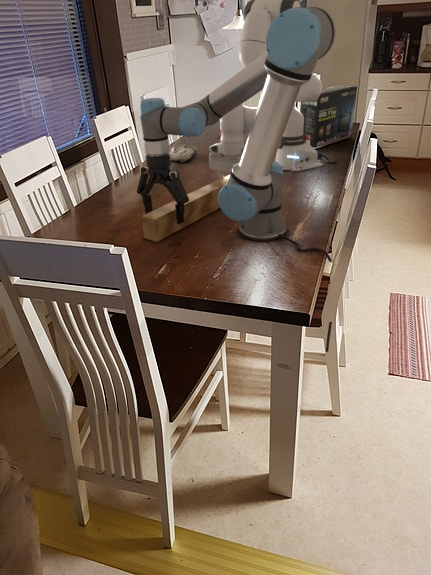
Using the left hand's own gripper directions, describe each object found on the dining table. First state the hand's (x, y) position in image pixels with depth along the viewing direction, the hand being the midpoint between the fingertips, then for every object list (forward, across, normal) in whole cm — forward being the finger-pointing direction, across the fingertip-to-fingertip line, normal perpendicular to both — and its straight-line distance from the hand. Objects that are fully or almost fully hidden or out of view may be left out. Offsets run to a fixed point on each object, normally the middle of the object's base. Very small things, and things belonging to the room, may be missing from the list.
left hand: (164, 218), depth 150 cm
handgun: (+4, +54, -115) cm, 127 cm away
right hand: (0, 0, -40) cm, 40 cm away
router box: (+5, +4, -133) cm, 133 cm away
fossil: (+4, +55, -72) cm, 90 cm away
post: (+5, 0, -20) cm, 21 cm away
